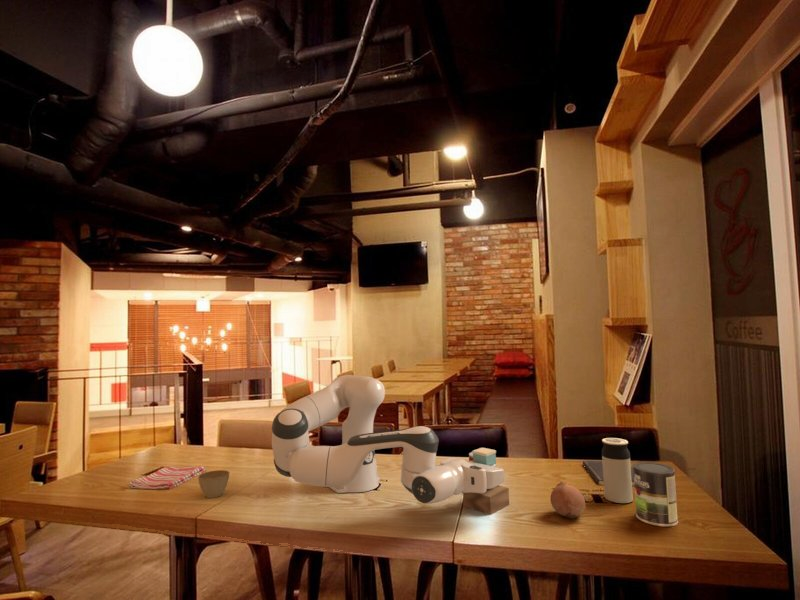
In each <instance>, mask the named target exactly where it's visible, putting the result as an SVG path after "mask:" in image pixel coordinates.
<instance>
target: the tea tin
mask: <svg viewBox="0 0 800 600" xmlns="http://www.w3.org/2000/svg"><path fill="white" fill-rule="evenodd" d="M471 452H472V453H473V462H476V463H480V464H485V465H489V466H490V464H496V465H497V455H496V454H497V450H495V449H491V448H488V447H487V448H486V447H479V448H477V449H474V450H472V451H471Z"/></svg>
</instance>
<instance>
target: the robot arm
mask: <svg viewBox="0 0 800 600" xmlns="http://www.w3.org/2000/svg"><path fill="white" fill-rule="evenodd" d="M385 396H386V387H385V386H384V384H383V382H382V381H380V380H379V379H376V378H374V377H372V376H368V375H367V376H366V375H355V374H344V375H340V376H337V377H335V378H334V379H333V380H332V382H330V384H328V385H326V387H325V386H324V387H323V388H322V389H319V390H317V391H315V392H313V393H310V394H307V395H306V396H303V397H301V398H299V399H297V400H296V401H294V402H292V403H290V404H289V405H287V406H285V407H284V408H283V409H281V410H280V412H279V413H277V414H276V415H275V416H274V418H273V420H272V425H271V434H272V435H271V448H272V455H273V464H274V467H275V469H276V471H277V473H278V474H280V475H281V476H284V477H287V478H292V479H293V480H294V481H295V482H297V483H301V484H305V485H311V486H315V487H316V486H317V487H323V488H324V487H326V488H329V489H331V490H333V491H334V492H335V493H337V494H342V493H363V492H368V491H372V490H374V489H376V488H378V487H379V485H380V483H379V482H380V480H381V479H380V476H379V475H378V467H377V465H378V464H377V460H376V457H375V455H376V451H375V450H382V449H391V448H392V449H393V448H400V447H402V450H403V452H402V462H401V473H400V482H401V485H402V486H403V487H404V488H405V489H406V490H407V491H408V492H409V493H410V494H412V495H413V496H414V498H415V500H417V501H418V502H419V503H421V504H427V505H429V504H436V503H439V502H443V501H445V500H447V499H450V498H451V497H453V496H455V495H459V494H461V493H462V494H463V493H468V492H472V493H485V492H486V489H491V488H494V487H496V486H498V485H499V486H501V485H502V484H503V483H504V482H505V476H506V475H505V470H504V469H503V468H502V467H498V465H497V463H496V464H490V466H489V465H485V464H480V463H476V462H473V461H469V460H467V459H462V458H458V457H451V456H450V457H448V458H445V459H443V460H442V461H440V464H438V465H436V459H437V451H438V446H439V441H440V439H439V437H438V435H437V434H436V432H435V431H434V430H433V429H432V428H431V427H430V426H424V425H420V426H419V425H418V426H411V427H408V428H407V427H406V428H402V429H394V430H384V431H377V432H376V431H375V432H374V422H375V421H374V420H375V417H376V414H377V409H378V408H379V406H380V405H381V404H382V403H383V401H384V399H385ZM347 408H348V409H349V410H348V415H347V417H346V419H345V420H344V421H343V422H342V425H341V431H342V432H341V436H342V437H341V439H342V441H341V442H342V443H341V444H340V445H334V446H333V445H313V444H311V443H310V442H311V440H310V435H309V434H310V433H309V432H311V431H313V430H316V429H317V428H319V427H321V426H324V425H326V424H328V423H330V422H331V421H334V420H336V419H337V418H338V417H339V415H340V413H341V412H342V411H344V410H345V409H347Z"/></svg>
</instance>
